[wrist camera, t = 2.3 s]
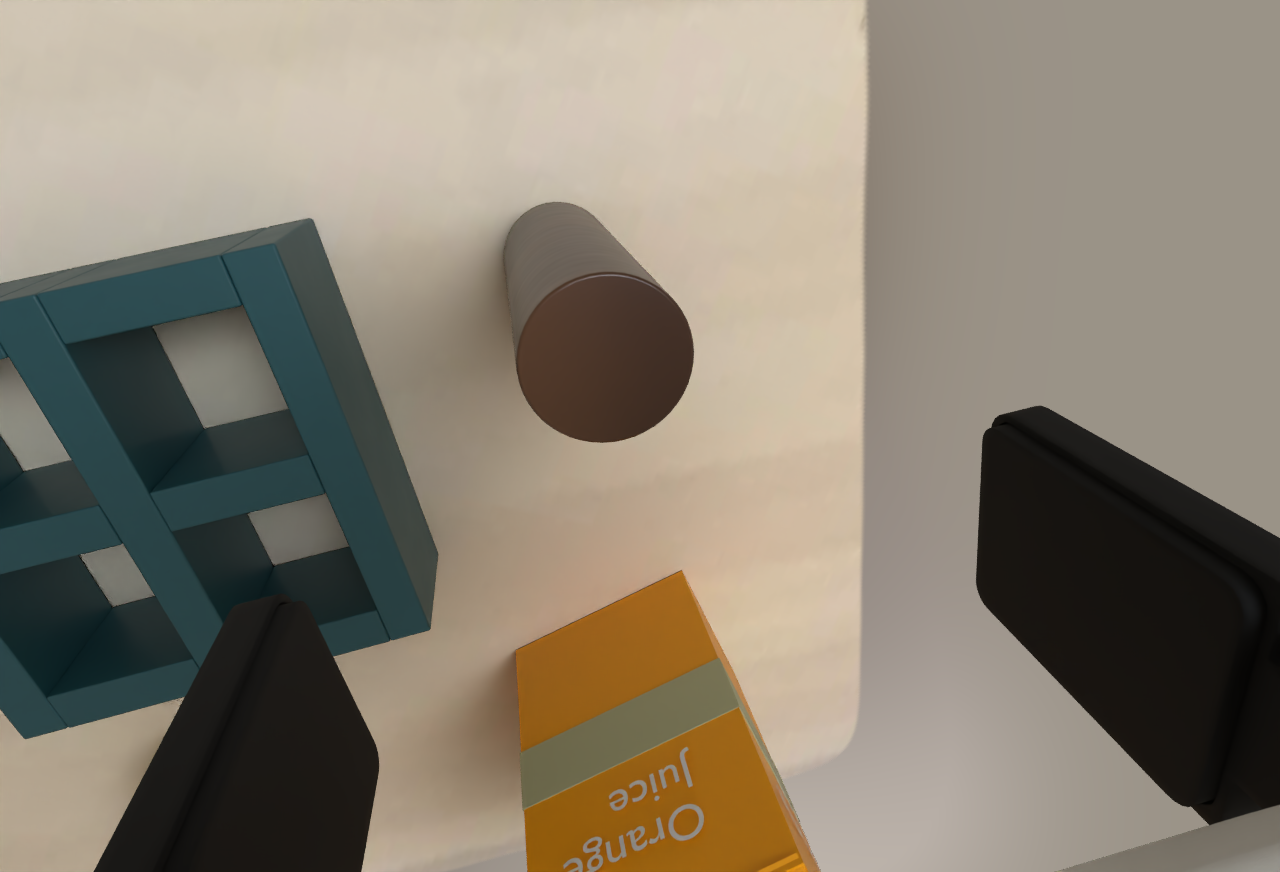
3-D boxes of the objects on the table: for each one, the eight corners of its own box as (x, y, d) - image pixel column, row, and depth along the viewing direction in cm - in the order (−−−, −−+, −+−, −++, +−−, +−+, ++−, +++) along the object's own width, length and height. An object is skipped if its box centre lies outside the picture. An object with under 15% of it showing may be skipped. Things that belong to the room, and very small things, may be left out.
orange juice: (513, 649, 34) (542, 1260, 16) (682, 567, 34) (903, 1091, 16) (584, 749, 37) (673, 1341, 19) (737, 675, 37) (968, 1202, 19)
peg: (519, 321, 27) (541, 462, 17) (491, 214, 26) (494, 296, 15) (620, 298, 28) (706, 420, 17) (600, 191, 26) (680, 253, 15)
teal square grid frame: (93, 644, 30) (23, 740, 25) (-136, 312, 23) (-284, 362, 19) (439, 554, 31) (431, 631, 26) (312, 217, 24) (274, 242, 20)
